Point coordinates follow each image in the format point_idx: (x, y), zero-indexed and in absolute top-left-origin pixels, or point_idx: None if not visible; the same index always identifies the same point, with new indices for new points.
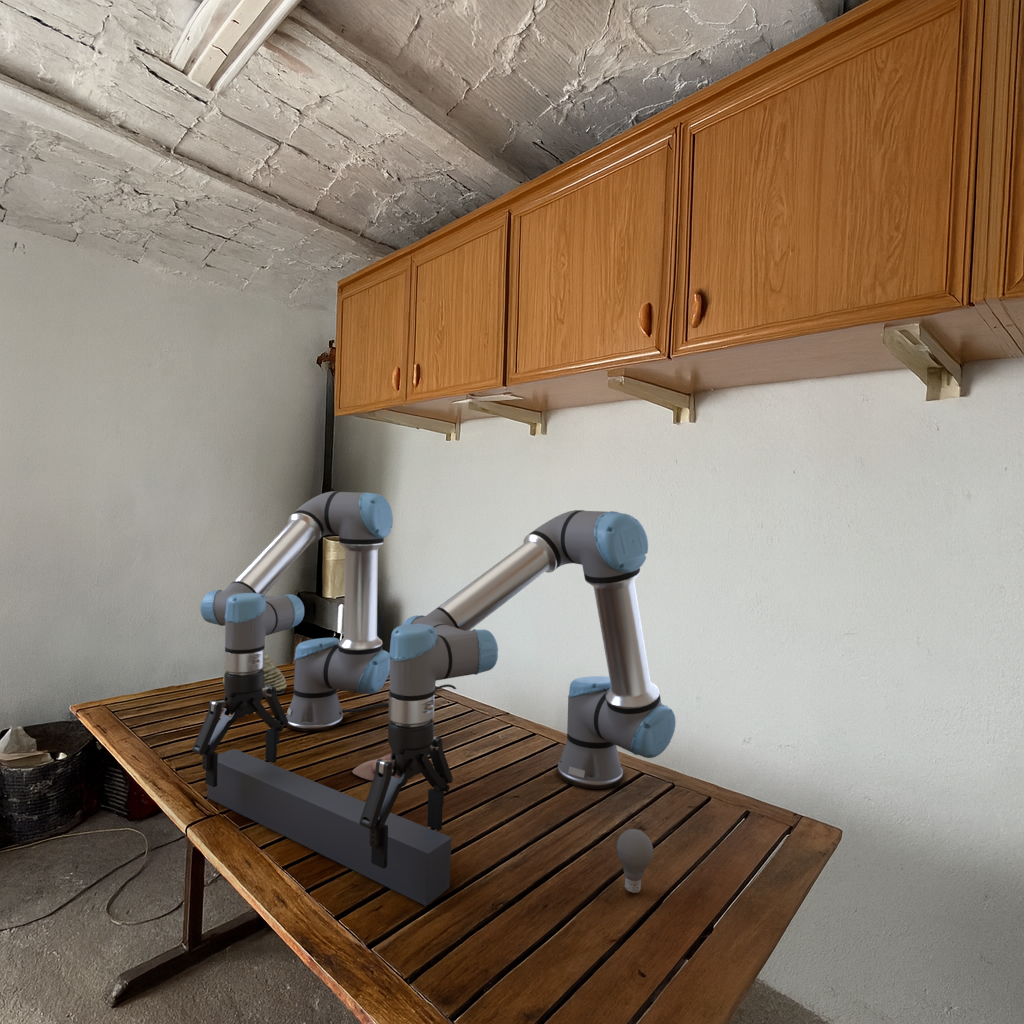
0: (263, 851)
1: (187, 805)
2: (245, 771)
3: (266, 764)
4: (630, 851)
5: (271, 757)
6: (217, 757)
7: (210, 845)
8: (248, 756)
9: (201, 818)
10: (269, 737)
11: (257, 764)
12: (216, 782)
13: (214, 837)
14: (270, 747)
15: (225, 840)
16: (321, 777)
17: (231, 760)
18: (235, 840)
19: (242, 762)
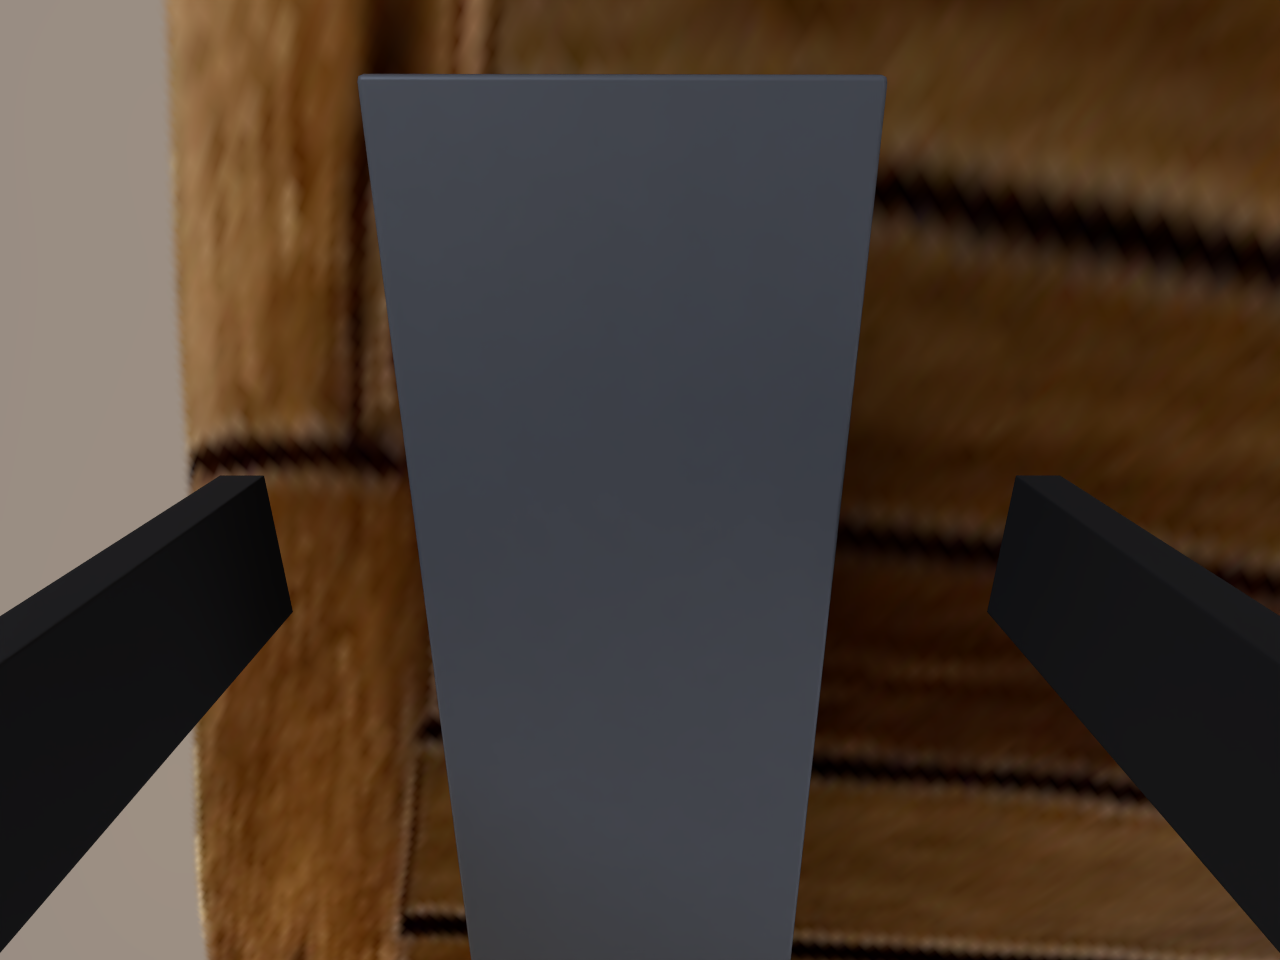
0: (397, 950)
1: (305, 141)
2: (490, 855)
3: (753, 866)
4: None
5: (1025, 607)
6: (50, 889)
7: (216, 751)
8: (791, 544)
9: (303, 438)
10: (1233, 754)
11: (691, 807)
12: (266, 632)
13: (269, 700)
14: (1106, 665)
15: (303, 764)
16: (1251, 561)
17: (555, 487)
18: (345, 799)
19: (616, 644)
